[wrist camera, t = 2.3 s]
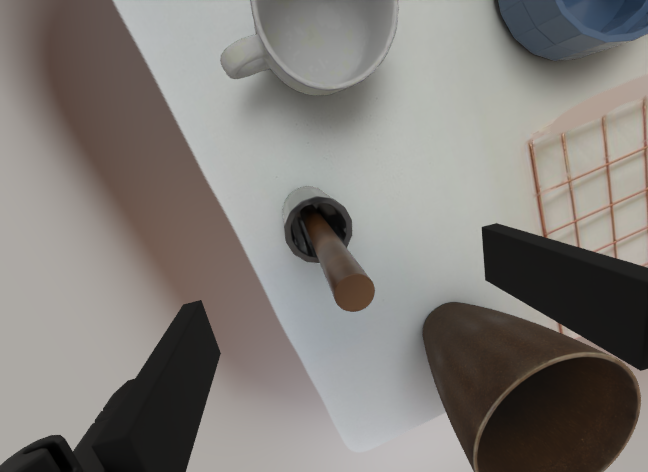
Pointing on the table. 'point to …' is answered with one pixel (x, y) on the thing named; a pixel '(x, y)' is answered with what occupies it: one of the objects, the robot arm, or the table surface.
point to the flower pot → (528, 393)
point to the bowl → (574, 25)
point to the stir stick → (338, 264)
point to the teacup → (315, 42)
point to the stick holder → (296, 228)
